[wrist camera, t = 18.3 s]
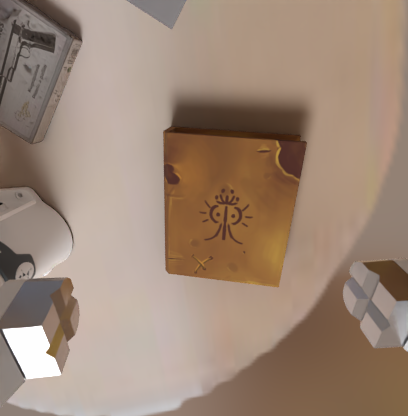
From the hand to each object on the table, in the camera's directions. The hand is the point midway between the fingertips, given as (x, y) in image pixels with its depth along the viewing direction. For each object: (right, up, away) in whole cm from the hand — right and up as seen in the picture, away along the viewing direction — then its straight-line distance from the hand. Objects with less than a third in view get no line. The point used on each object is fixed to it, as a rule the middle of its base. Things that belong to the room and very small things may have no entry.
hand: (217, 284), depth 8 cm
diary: (+4, +3, +38) cm, 38 cm away
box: (-26, +22, +34) cm, 48 cm away
